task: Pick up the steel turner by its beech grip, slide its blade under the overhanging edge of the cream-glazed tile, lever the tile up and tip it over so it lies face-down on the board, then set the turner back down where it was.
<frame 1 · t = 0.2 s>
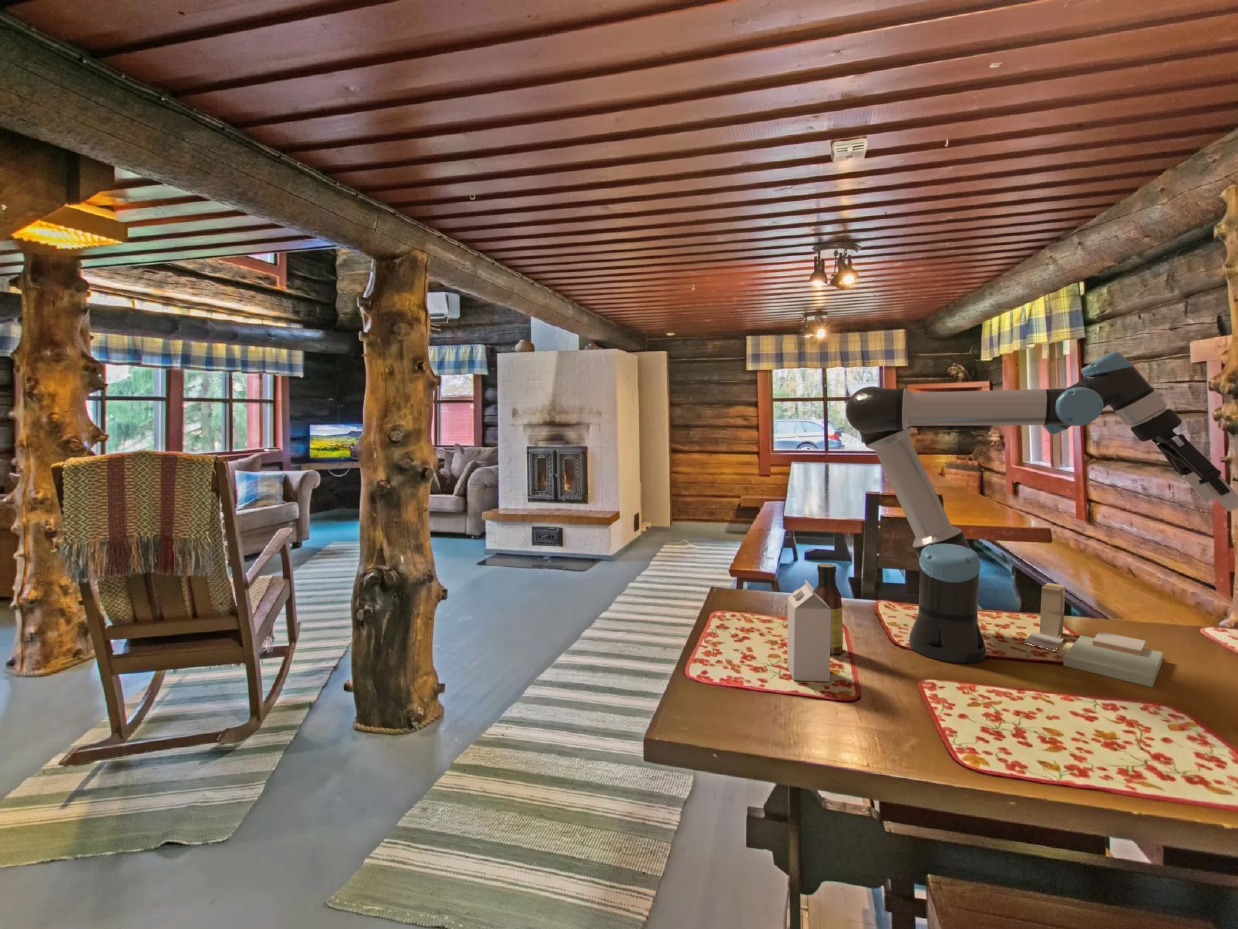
hand: (1224, 503, 116), 35 cm above the table, tool tilted 35°, fingers open, 13 cm apart
tile: (1118, 645, 128), point 2 cm above the table, touching board
sauce bottle: (827, 651, 132), on the table
board: (1113, 663, 124), on the table
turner: (1051, 634, 141), on the table
milk carton: (807, 675, 119), on the table
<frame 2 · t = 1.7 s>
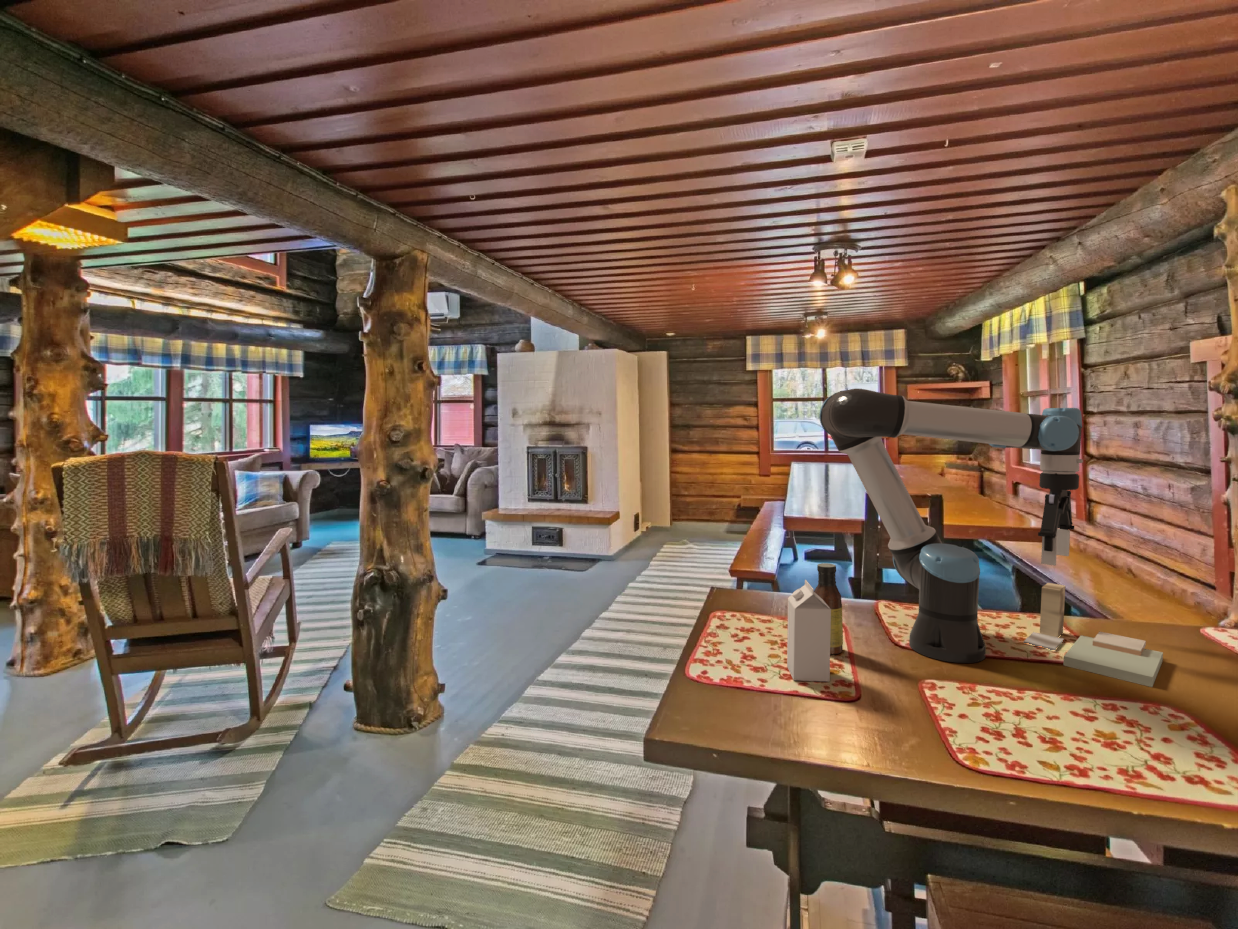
hand: (1055, 559, 139), 19 cm above the table, tool pointing down, fingers open, 13 cm apart
nothing on the table moved.
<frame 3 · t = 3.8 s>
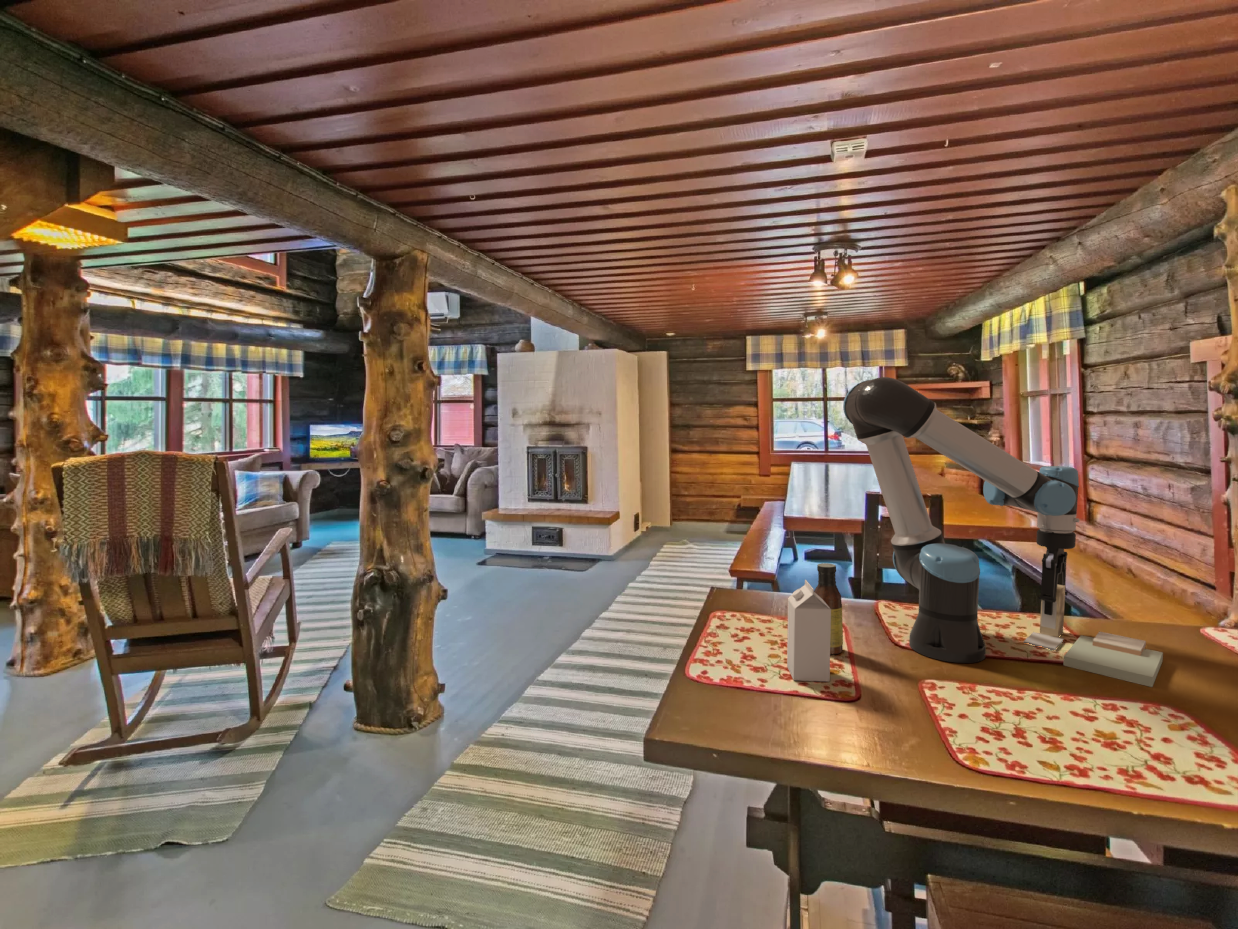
hand: (1051, 623, 140), 3 cm above the table, tool pointing down, fingers closed on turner, 6 cm apart
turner: (1051, 634, 141), on the table, touching gripper
everything else where it was.
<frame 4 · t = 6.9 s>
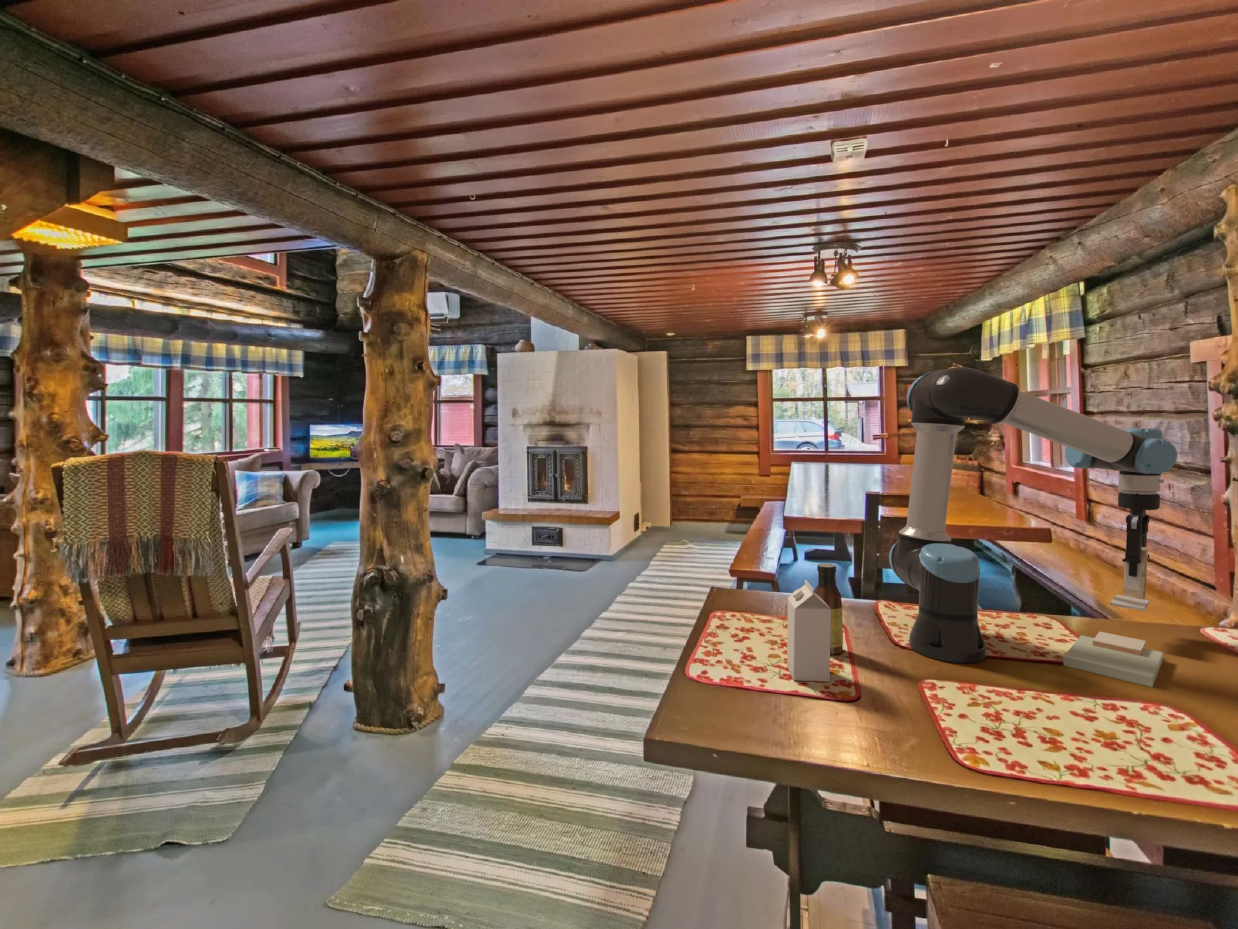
hand: (1134, 586, 140), 12 cm above the table, tool pointing down, fingers closed on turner, 6 cm apart
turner: (1134, 597, 140), point 9 cm above the table, touching gripper
everything else where it was.
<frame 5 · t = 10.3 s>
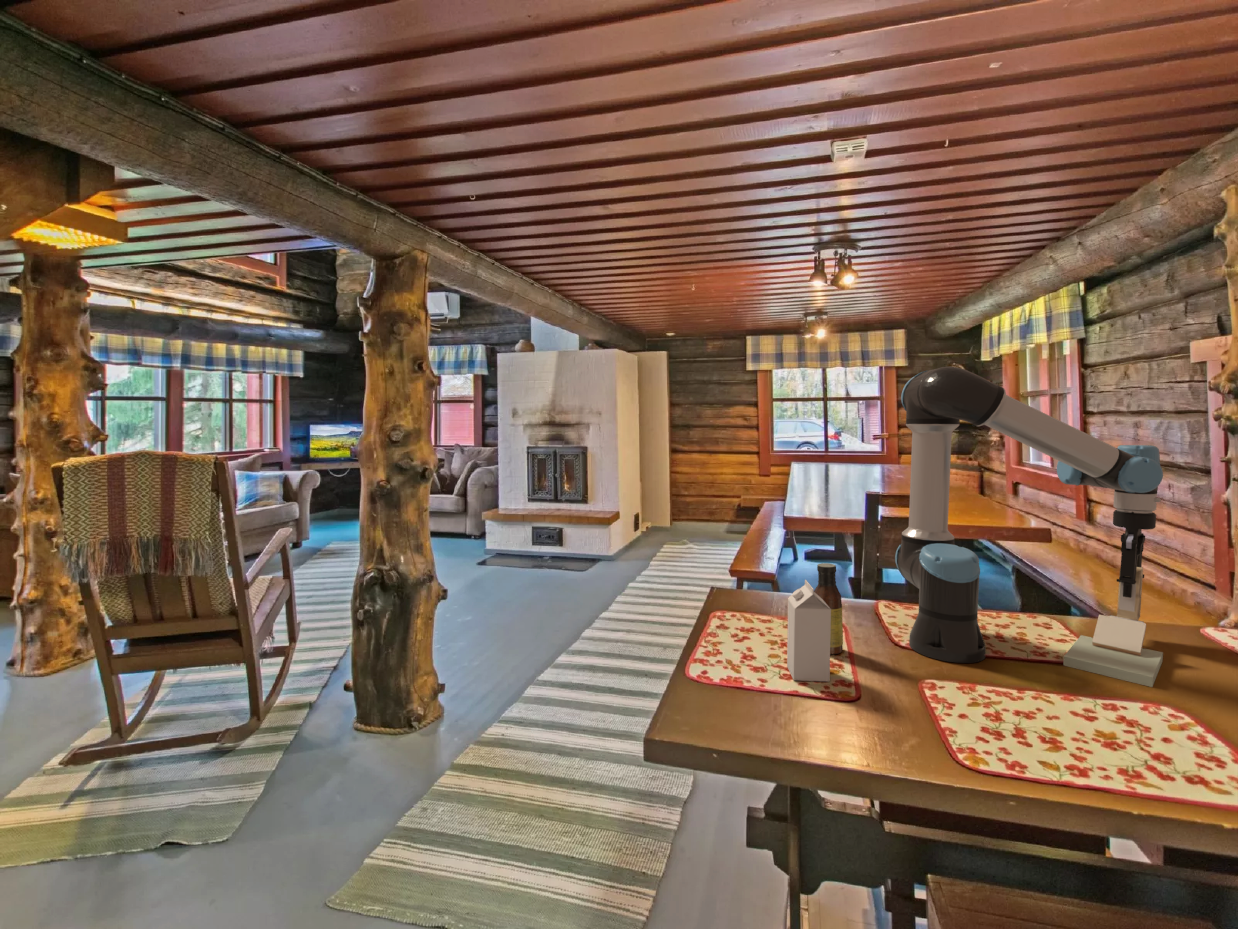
hand: (1128, 606, 137), 8 cm above the table, tool pointing down, fingers closed on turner, 6 cm apart
tile: (1119, 636, 127), point 4 cm above the table, tilted 36°, touching board, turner
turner: (1128, 617, 137), point 5 cm above the table, touching gripper, tile
everything else where it was.
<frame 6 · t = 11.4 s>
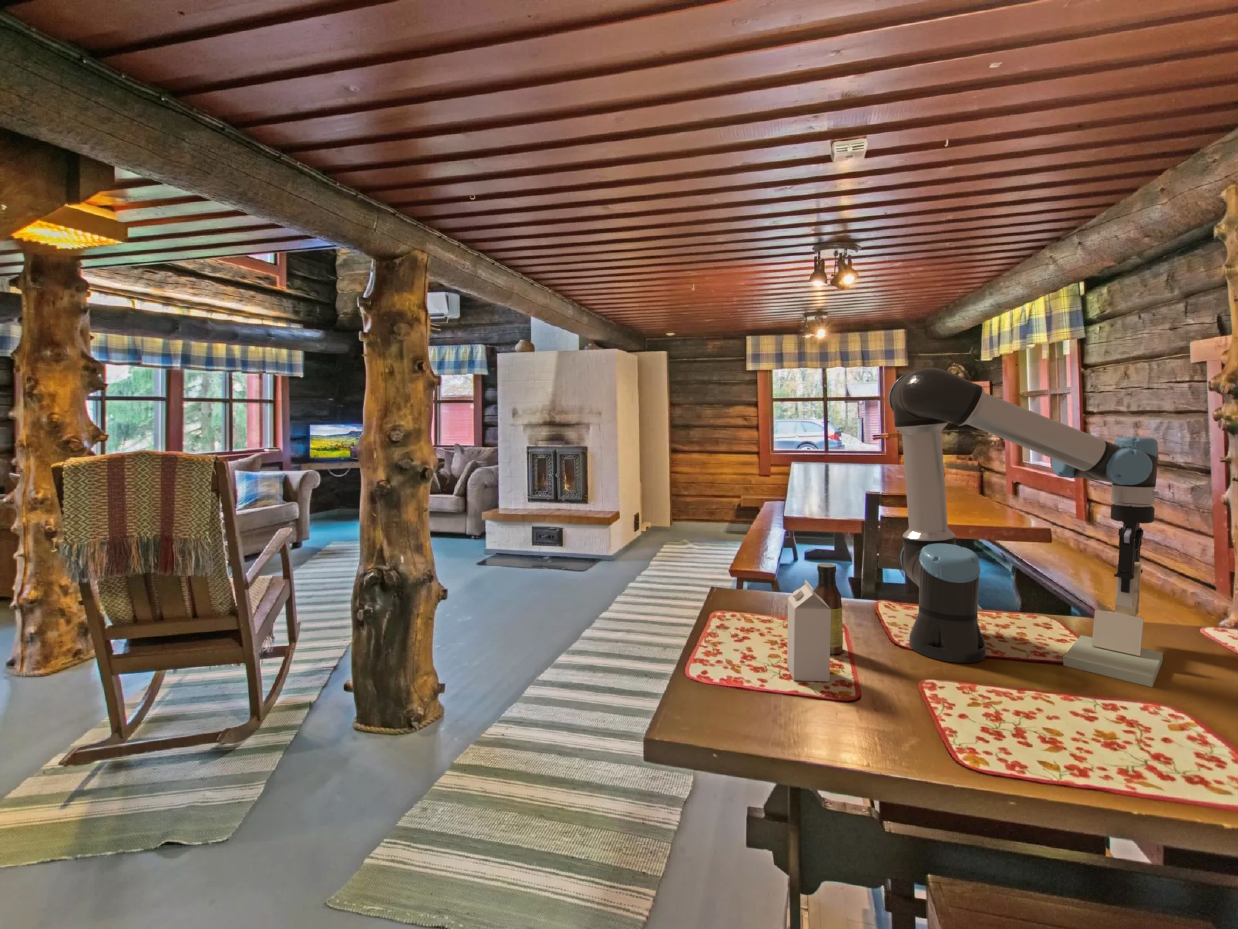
hand: (1126, 602, 134), 10 cm above the table, tool pointing down, fingers closed on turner, 6 cm apart
tile: (1117, 632, 126), point 6 cm above the table, tilted 76°, touching board
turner: (1126, 613, 134), point 7 cm above the table, touching gripper
everything else where it was.
when the fingers open (4 cm above the table, at t = 16.5 s): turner drops 2 cm, on the table.
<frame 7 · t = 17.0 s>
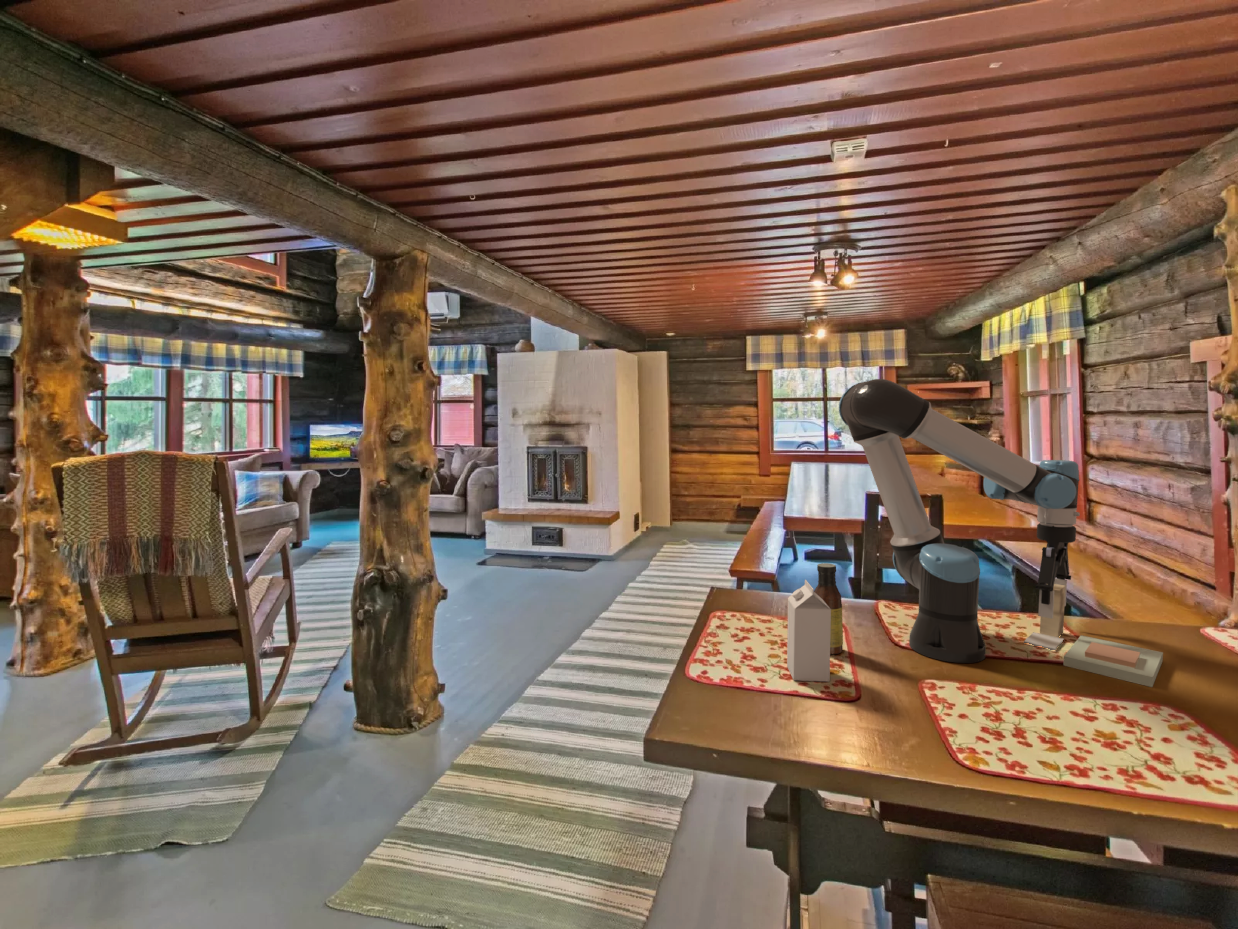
hand: (1052, 610, 140), 6 cm above the table, tool pointing down, fingers open, 13 cm apart
tile: (1112, 652, 122), point 3 cm above the table, tilted 180°, touching board
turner: (1051, 634, 141), on the table
everything else where it was.
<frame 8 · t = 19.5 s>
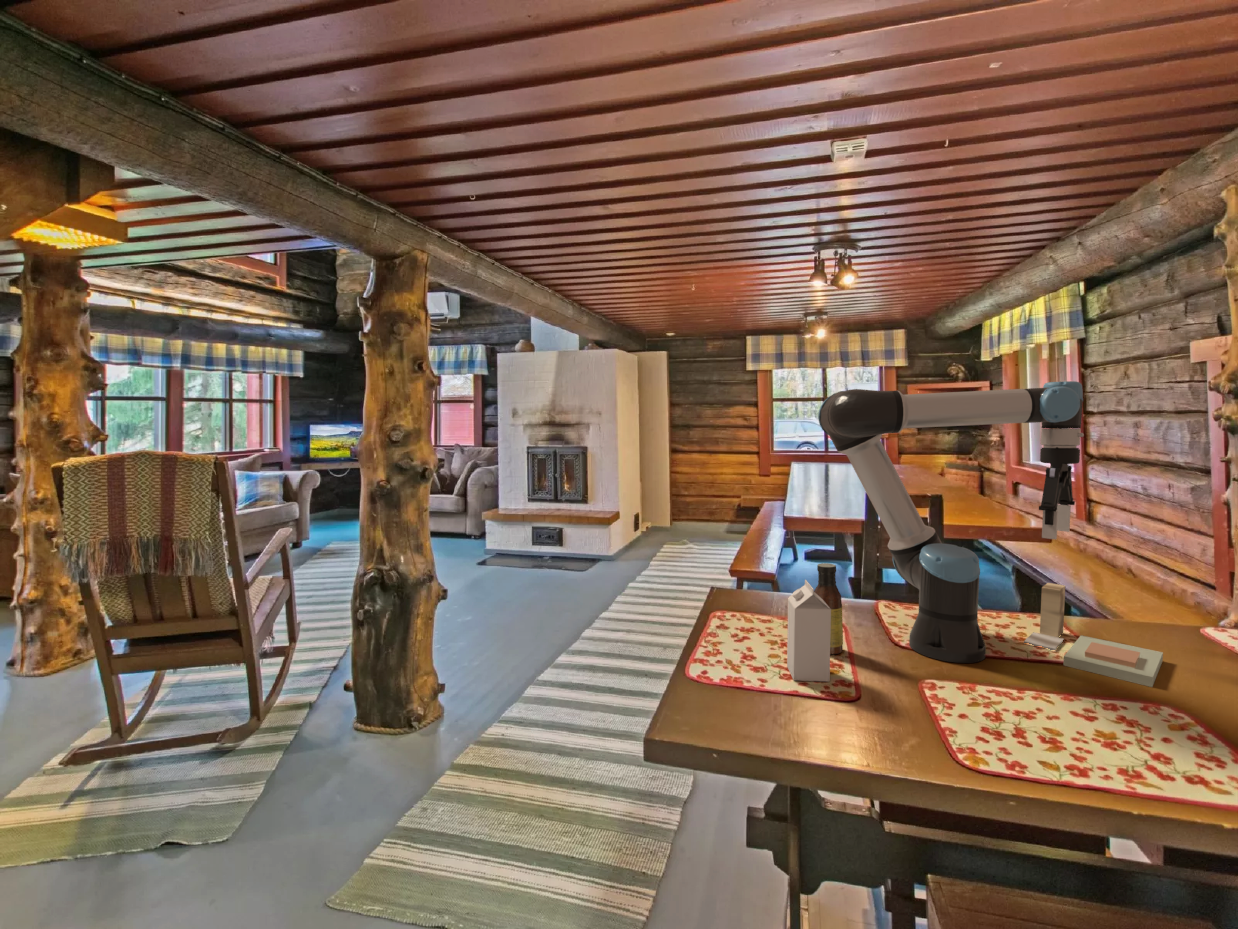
hand: (1055, 534, 139), 25 cm above the table, tool pointing down, fingers open, 13 cm apart
nothing on the table moved.
at the end: tile tilted 180°; tile inside the target area on the board (0.4 cm from its centre), point 3.2 cm above the board's base; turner inside the target area (0.3 cm from its centre), on the table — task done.
